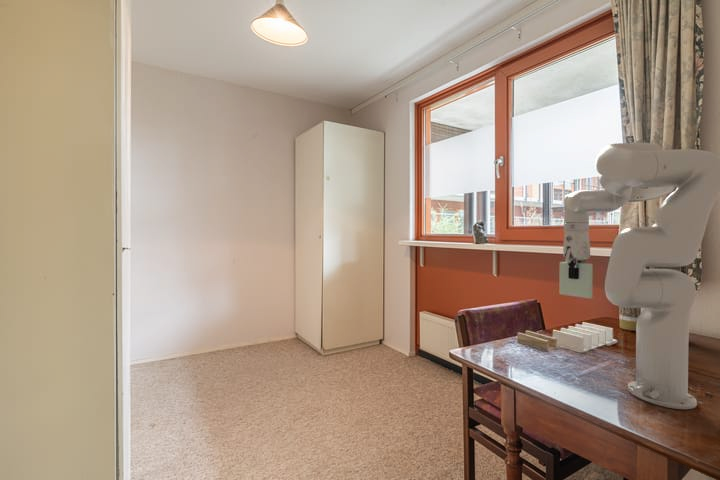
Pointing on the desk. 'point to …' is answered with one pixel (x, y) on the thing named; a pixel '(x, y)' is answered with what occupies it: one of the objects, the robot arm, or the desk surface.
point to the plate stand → (537, 340)
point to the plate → (576, 281)
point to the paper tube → (629, 318)
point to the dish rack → (584, 337)
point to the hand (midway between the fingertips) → (575, 277)
